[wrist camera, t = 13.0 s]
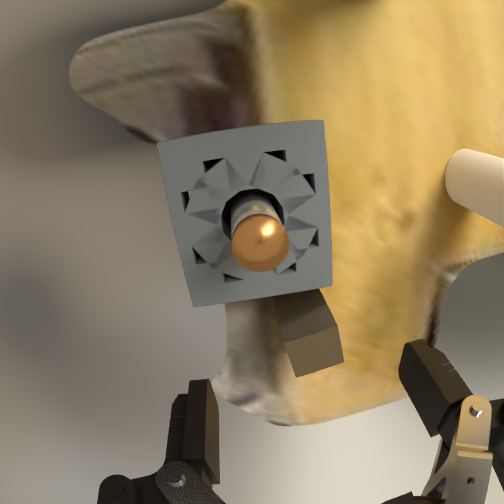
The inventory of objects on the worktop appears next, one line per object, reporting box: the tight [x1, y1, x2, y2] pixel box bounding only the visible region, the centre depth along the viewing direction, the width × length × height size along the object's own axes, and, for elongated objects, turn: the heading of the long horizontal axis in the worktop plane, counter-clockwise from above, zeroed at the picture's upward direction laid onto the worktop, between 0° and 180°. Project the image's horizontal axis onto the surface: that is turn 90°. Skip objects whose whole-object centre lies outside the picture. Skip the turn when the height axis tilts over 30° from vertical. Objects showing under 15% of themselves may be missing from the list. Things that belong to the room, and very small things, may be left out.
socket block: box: [157, 120, 332, 307], centre depth 29 cm, size 16×14×4 cm
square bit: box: [273, 288, 344, 377], centre depth 32 cm, size 5×5×9 cm
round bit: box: [231, 189, 289, 272], centre depth 26 cm, size 4×4×10 cm
